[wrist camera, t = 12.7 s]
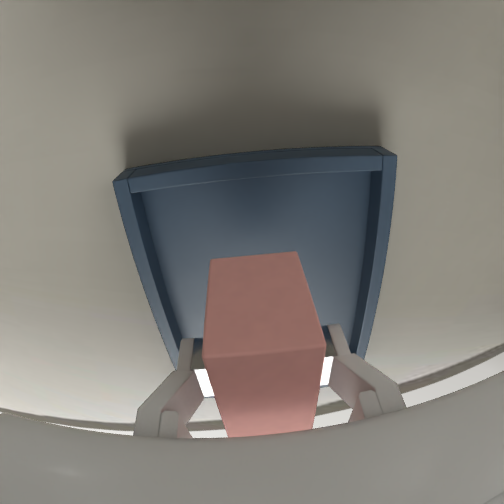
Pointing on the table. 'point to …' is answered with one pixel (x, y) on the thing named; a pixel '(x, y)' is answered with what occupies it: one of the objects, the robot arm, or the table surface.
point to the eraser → (262, 344)
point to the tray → (262, 229)
